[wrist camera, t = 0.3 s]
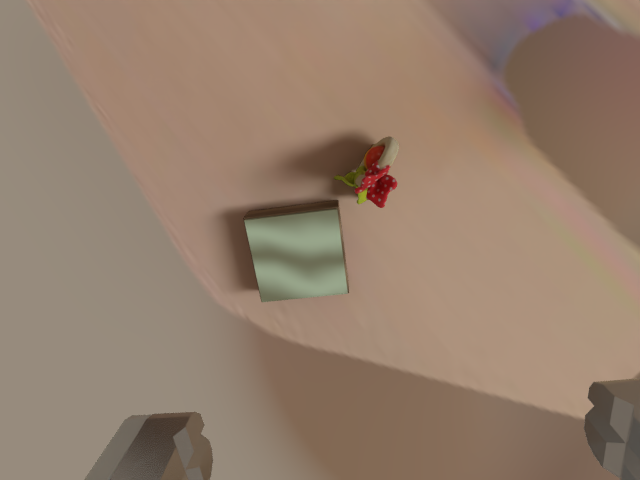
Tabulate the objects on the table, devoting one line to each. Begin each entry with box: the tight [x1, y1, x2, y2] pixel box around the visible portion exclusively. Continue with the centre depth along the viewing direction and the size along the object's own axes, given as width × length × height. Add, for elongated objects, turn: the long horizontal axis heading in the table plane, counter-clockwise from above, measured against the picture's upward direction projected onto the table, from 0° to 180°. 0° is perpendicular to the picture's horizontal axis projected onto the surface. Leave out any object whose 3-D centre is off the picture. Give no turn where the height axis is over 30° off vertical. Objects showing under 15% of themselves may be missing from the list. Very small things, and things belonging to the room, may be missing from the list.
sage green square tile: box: [243, 200, 349, 302], centre depth 54 cm, size 13×13×4 cm
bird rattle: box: [334, 137, 399, 208], centre depth 46 cm, size 6×11×9 cm
